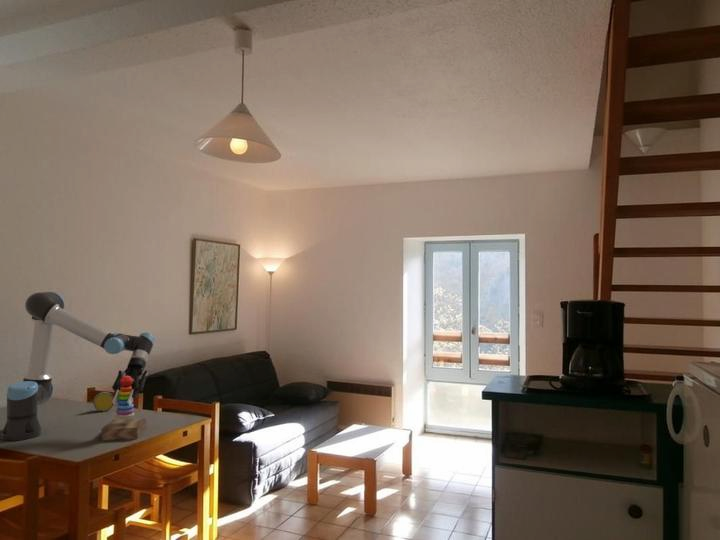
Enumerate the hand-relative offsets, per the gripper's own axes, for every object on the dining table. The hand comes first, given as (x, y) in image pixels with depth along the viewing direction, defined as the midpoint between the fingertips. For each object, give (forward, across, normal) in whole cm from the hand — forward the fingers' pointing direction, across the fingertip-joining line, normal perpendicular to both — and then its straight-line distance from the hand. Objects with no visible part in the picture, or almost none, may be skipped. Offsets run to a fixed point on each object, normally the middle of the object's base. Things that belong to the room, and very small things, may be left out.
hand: (121, 403), depth 233 cm
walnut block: (+8, 0, -13) cm, 15 cm away
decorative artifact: (-23, +33, -44) cm, 60 cm away
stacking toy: (+2, 0, -8) cm, 8 cm away
